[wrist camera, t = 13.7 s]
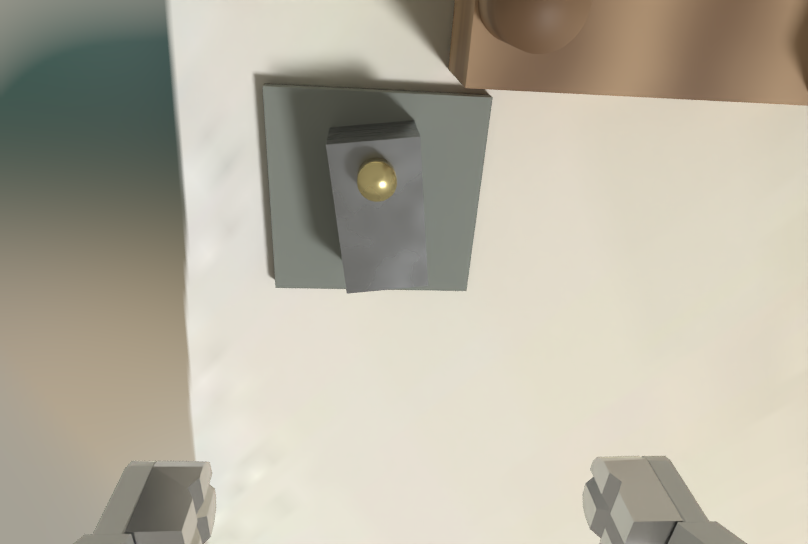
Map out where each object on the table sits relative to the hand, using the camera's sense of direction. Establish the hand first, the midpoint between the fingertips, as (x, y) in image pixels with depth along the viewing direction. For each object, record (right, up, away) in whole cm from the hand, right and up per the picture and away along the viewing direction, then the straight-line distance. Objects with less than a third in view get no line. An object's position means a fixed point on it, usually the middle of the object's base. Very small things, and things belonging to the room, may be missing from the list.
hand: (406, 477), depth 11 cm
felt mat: (-1, +8, +15) cm, 17 cm away
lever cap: (-1, +8, +14) cm, 16 cm away
